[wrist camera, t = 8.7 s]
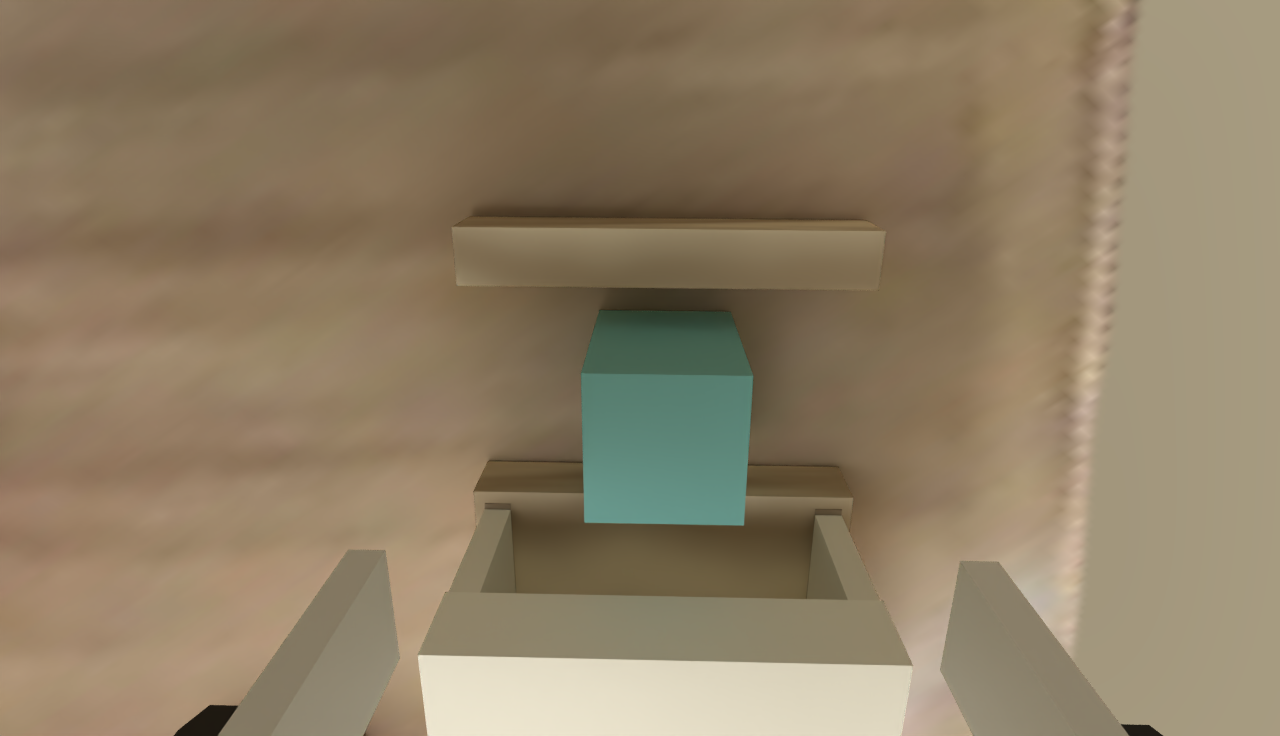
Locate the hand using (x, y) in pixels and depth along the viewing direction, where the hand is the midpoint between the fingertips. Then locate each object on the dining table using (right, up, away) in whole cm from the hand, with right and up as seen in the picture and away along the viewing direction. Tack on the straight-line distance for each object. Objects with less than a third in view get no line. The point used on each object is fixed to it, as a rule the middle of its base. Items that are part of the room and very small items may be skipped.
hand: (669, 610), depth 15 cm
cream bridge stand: (0, -5, +14) cm, 15 cm away
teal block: (0, +5, +13) cm, 14 cm away
